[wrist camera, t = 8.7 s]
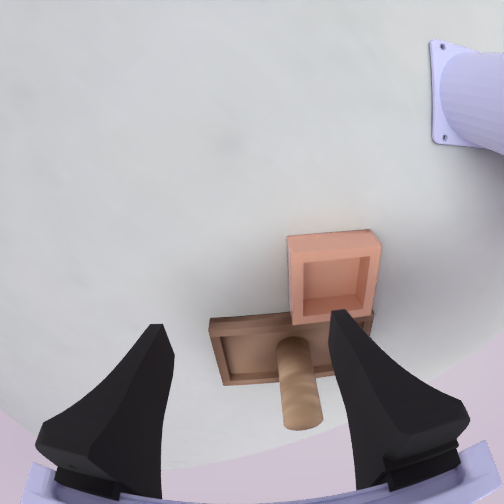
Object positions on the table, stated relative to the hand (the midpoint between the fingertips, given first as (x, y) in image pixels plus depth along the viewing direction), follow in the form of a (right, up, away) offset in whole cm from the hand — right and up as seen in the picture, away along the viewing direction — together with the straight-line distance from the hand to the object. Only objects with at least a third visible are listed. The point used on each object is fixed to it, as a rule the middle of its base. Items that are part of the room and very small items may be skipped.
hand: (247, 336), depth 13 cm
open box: (+6, +2, +11) cm, 13 cm away
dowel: (+4, -5, +14) cm, 16 cm away
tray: (+4, -5, +15) cm, 16 cm away
